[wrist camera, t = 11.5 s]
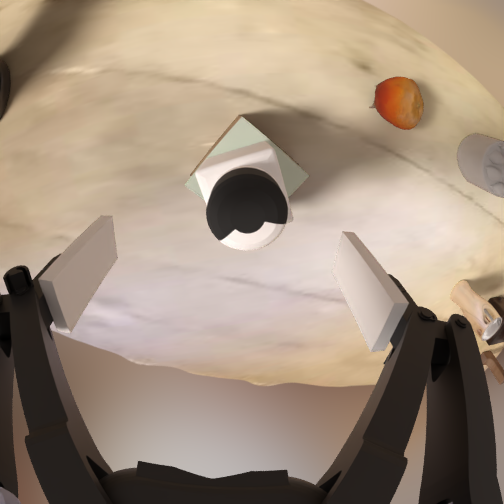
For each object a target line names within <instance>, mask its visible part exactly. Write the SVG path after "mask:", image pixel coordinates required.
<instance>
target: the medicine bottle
mask: <svg viewBox="0 0 504 504" xmlns="http://www.w3.org/2000/svg"><path fill="white" fill-rule="evenodd" d="M195 175H196V178H197V181H198V184H199V186H200V189H201V192H202V194H203V197H204V200H205V202H206V205H207V209H206V216H207V222H208V225H209V227H210V229H211V231H212V233H213V234H214V235H215V237H216V238H217V239H218V240H219V241H221V242H222V243H223V244H225V245H227V246H229V247H231V248H234V249H238V250H255V249H259V248H262V247H265V246H267V245H268V244H270V243H272V242H273V241H274V240H275V239H276V238H277V237H278V236H279V235H280V234H281V233H282V231H283V229H284V227H285V225H286V224H287V223H290V222H292V221H293V215H292V211H291V207H290V203H289V199H288V196H287V192H286V188H285V184H284V181H283V177H282V173H281V170H280V166H279V163H278V159H277V155H276V152H275V150H274V148H272V147H271V146H270V145H269V144H268V143H267V142H266V141H262V142H258V143H255V144H251V145H248V146H245V147H241V148H238V149H235V150H231V151H228V152H225V153H222V154H219V155H216V156H213V157H210V158H207V159H205V160H204V161H203V163H202V164H201V166H200V167H199V168H198V170H197V171H196V173H195Z"/></svg>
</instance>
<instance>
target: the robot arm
mask: <svg viewBox="0 0 504 504" xmlns="http://www.w3.org/2000/svg"><path fill="white" fill-rule="evenodd" d="M9 90H10V74H9V69H8V67H7V65H6V64H5V62H3V61H1V60H0V118H1V116H2V114H3V112H4V110H5V107H6V104H7V100H8V96H9ZM117 258H118V257H117V250H116V243H115V234H114V226H113V216H100V217H99V218H98V219H97V220H96V221H95V222H94V223H92V224H91V225H90V226H89V227H88V228H87V229H86V230H85V231H84V232H83V233H82V234H81V235H80V236H79V237H78V238H77V239H76V240H75V241H74V242H73V243H72V244H71V245H70V246H69V247H68V248H67V249H66V250H65V251H64V252H63V253H62V254H59V255H57V256H56V257H54V258H53V259H52V260H51V261H50V262H49V263H48V264H47V265H46V266H45V267H44V268H43V270H41V271H40V272H39V273H38V275H37V276H36V277H35V278H34V279H33V280H32V278H31V275H30V272H29V269H28V267H26V266H16V267H14V268H11V269H10V270H9V271H7V272H6V273H5V275H4V277H3V279H4V282H5V285H6V287H7V290H8V292H9V294H6V295H1V294H0V504H21V503H20V501H19V500H18V482H17V474H16V464H15V456H14V445H13V426H12V398H13V378H14V367H15V372H16V378H17V383H18V388H19V393H20V398H21V402H22V406H23V410H24V415H25V418H26V422H27V425H28V429H29V435H28V436H26V437H25V443H26V447H27V451H28V454H29V456H30V459H31V462H32V465H33V468H34V470H35V473H36V475H37V478H38V480H39V482H40V485H41V487H42V489H43V492H44V494H45V496H46V498H47V500H48V502H49V504H390V502H391V500H392V498H393V496H394V494H395V492H396V489H397V487H398V485H399V483H400V481H401V478H402V476H403V474H404V471H405V469H406V466H407V458H405V457H404V452H405V449H406V446H407V443H408V441H409V438H410V435H411V433H412V430H413V427H414V424H415V421H416V417H417V414H418V411H419V408H420V404H421V401H422V397H423V393H424V390H425V386H426V384H427V426H426V444H425V456H424V466H423V474H422V482H421V488H420V496H419V504H503V501H502V497H501V492H500V487H499V483H498V479H497V468H496V467H497V464H496V443H495V432H494V423H493V415H492V408H491V402H490V396H489V391H488V386H487V381H486V376H485V372H484V367H483V363H482V359H481V356H480V352H479V348H478V345H477V341H476V338H475V335H474V331H473V328H472V325H471V323H470V322H469V321H468V320H467V318H465V317H464V316H461V315H459V314H453V315H451V317H450V318H449V320H448V322H444V321H439V320H437V317H436V315H435V314H434V313H433V312H432V311H431V310H429V309H427V308H424V307H418V306H417V305H416V303H415V302H414V301H413V299H412V298H411V297H410V295H409V294H408V293H407V292H406V290H405V289H404V287H403V286H402V285H401V283H400V282H399V281H398V280H397V279H396V278H394V277H393V276H392V275H390V274H387V273H386V271H385V270H384V269H383V268H382V266H381V265H380V264H379V262H378V261H377V260H376V259H375V257H374V256H373V255H372V254H371V252H370V251H369V250H368V249H367V248H366V246H365V245H364V244H363V243H362V241H361V240H360V239H359V238H358V237H357V235H356V234H355V233H353V232H344V231H342V235H341V239H340V243H339V247H338V251H337V254H336V258H335V262H334V266H333V269H332V274H333V276H334V278H335V280H336V282H337V283H338V285H339V287H340V289H341V291H342V293H343V295H344V297H345V299H346V301H347V303H348V305H349V307H350V310H351V312H352V314H353V316H354V318H355V320H356V322H357V324H358V326H359V328H360V330H361V332H362V335H363V337H364V339H365V341H366V343H367V345H368V348H369V350H370V352H375V351H385V349H386V347H387V345H388V343H389V341H390V342H391V344H392V346H393V348H392V350H391V352H390V353H389V355H388V357H387V358H386V360H385V362H384V363H383V364H385V366H384V368H383V370H382V373H381V375H380V377H379V379H378V382H377V384H376V386H375V388H374V390H373V392H372V394H371V397H370V398H369V401H368V402H367V405H366V407H365V408H364V411H363V412H362V414H361V416H360V418H359V420H358V422H357V424H356V425H355V427H354V429H353V431H352V433H351V434H350V436H349V438H348V439H347V441H346V443H345V444H344V446H343V448H342V449H341V451H340V453H339V454H338V456H337V457H336V459H335V461H334V462H333V464H332V465H331V467H330V468H329V469H328V471H327V472H326V473H325V474H324V475H323V477H322V478H321V479H320V480H319V481H318V483H317V484H316V485H314V484H312V483H310V482H307V481H304V480H301V479H298V478H294V477H288V473H287V470H277V471H250V472H246V473H242V474H237V475H232V476H227V477H221V478H215V479H211V478H206V477H203V476H199V475H196V474H193V473H190V472H187V471H184V470H181V469H178V468H175V467H172V466H165V465H158V464H152V463H147V462H142V461H138V465H137V468H129V469H123V470H119V471H116V472H113V471H112V470H111V468H110V467H109V466H108V464H107V463H106V462H105V460H104V459H103V458H102V456H101V454H100V453H99V451H98V449H97V447H96V445H95V443H94V441H93V439H92V437H91V435H90V434H89V431H88V429H87V427H86V425H85V423H84V421H83V418H82V416H81V414H80V412H79V409H78V407H77V405H76V402H75V400H74V397H73V395H72V393H71V390H70V387H69V385H68V382H67V379H66V376H65V374H64V370H63V367H62V364H61V361H60V358H59V355H58V352H57V348H56V345H55V342H54V338H53V334H52V331H51V329H50V325H51V323H52V322H53V321H54V324H55V326H56V328H57V331H61V332H65V333H70V334H71V332H72V330H73V328H74V327H75V325H76V323H77V321H78V320H79V318H80V316H81V315H82V313H83V311H84V310H85V308H86V306H87V305H88V303H89V301H90V300H91V298H92V297H93V295H94V293H95V292H96V290H97V289H98V287H99V285H100V284H101V282H102V281H103V279H104V278H105V276H106V275H107V273H108V272H109V270H110V269H111V267H112V266H113V264H114V263H115V261H116V260H117Z"/></svg>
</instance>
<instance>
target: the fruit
mask: <svg viewBox="0 0 504 504" xmlns="http://www.w3.org/2000/svg"><path fill="white" fill-rule="evenodd" d="M369 108H376V109H377V111H378V112H379V113H380V115H381V116H382V117H383V118H384V119H385V120H387V121H388V122H390V123H391V124H393V125H394V126H396V127H398V128H401V129H404V130H406V129H408V130H410V129H412V128H414V127H415V126H416V125H417V123H418V122H419V121H420V119H421V116H422V114H423V100H422V96H421V94H420V91H419V88H418V86H417V84H416V83H415V82H414V81H413V80H412V79H408V78H405V77H393V78H389V79H387V80H385V81H383V82H381V83H380V84H378V85H376V90H375V101H374V104H373V106H372V107H369Z"/></svg>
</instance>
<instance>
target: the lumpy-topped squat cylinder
mask: <svg viewBox="0 0 504 504" xmlns="http://www.w3.org/2000/svg"><path fill="white" fill-rule="evenodd" d="M457 160H458V165H459V168H460V171H461V173H462V174H463V176H464V178H465V179H466V180H467V181H468V182H470V183H472V184H474V185H476V186H478V187H480V188H482V189H484V190H485V191H487V192H489V193H491V194H493V195H495V196H498V197H503V198H504V141H501V140H498V139H495V138H491V137H488V136H484V135H480V134H476V133H475V134H471V135H469V136H467V137H465V138H464V139H463V141H462V142H461V143H460V145H459V147H458V151H457Z"/></svg>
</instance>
